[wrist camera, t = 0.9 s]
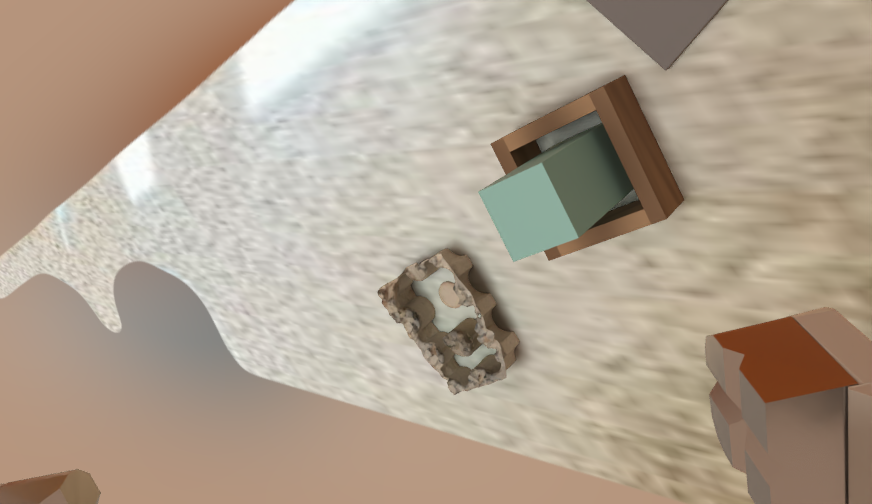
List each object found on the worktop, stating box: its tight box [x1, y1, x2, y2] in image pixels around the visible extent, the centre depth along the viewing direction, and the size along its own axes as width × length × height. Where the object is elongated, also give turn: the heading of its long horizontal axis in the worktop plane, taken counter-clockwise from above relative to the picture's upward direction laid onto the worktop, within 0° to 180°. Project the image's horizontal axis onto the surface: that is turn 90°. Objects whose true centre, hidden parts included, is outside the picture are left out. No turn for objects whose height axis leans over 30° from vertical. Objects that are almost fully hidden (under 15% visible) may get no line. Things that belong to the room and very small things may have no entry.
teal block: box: [478, 123, 634, 262], centre depth 45 cm, size 4×4×10 cm
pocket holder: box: [491, 75, 684, 261], centre depth 47 cm, size 8×8×4 cm
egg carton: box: [378, 249, 520, 395], centre depth 58 cm, size 11×8×4 cm
